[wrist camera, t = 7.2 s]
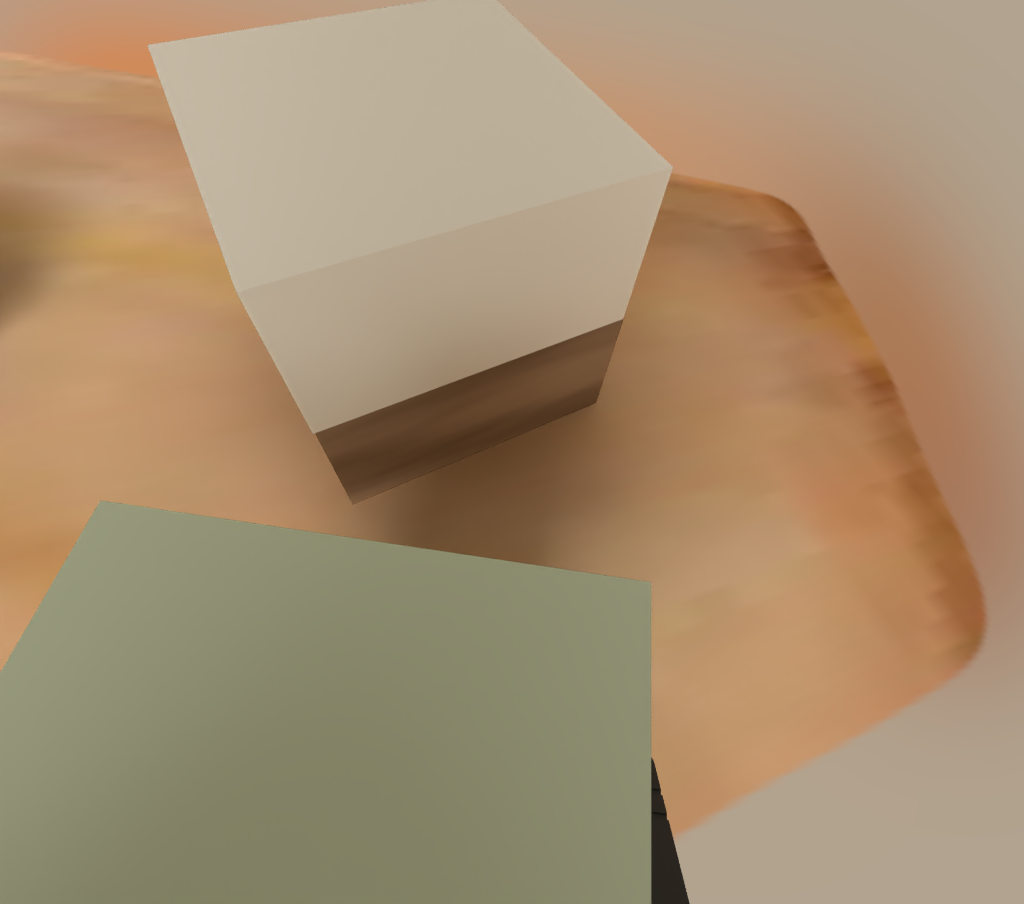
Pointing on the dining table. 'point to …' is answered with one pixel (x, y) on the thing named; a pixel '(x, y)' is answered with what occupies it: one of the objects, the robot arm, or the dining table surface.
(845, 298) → the dining table surface
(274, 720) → the sage block
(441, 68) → the tower top
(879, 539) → the dining table surface
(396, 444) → the tower bottom
